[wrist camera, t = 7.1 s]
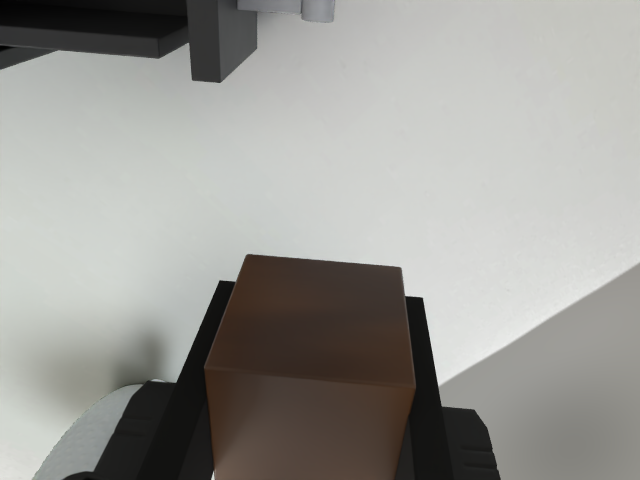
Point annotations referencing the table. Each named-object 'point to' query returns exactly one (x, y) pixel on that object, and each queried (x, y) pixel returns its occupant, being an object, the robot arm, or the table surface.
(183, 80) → the table surface
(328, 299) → the block
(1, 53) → the cabinet
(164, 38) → the drawer
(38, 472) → the mug
